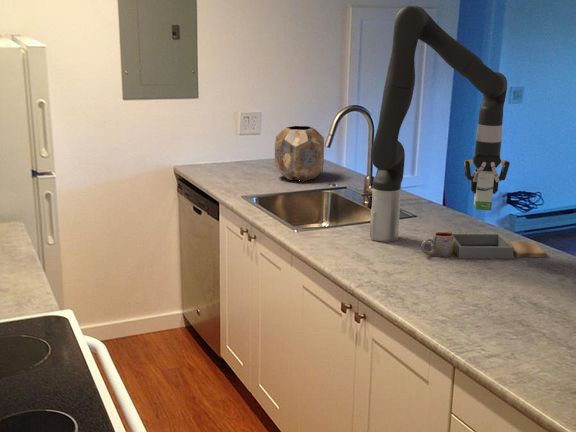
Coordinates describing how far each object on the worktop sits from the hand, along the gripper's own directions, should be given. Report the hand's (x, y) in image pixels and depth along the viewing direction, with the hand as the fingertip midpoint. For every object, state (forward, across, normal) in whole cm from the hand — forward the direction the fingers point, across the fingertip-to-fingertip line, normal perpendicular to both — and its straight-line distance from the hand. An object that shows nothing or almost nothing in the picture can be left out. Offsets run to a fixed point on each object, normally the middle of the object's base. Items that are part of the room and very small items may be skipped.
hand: (483, 192), depth 217 cm
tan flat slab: (+19, +15, 0) cm, 24 cm away
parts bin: (+19, 0, 0) cm, 19 cm away
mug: (+19, -14, -4) cm, 24 cm away
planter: (+20, -56, +107) cm, 122 cm away
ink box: (+5, 0, 0) cm, 5 cm away
